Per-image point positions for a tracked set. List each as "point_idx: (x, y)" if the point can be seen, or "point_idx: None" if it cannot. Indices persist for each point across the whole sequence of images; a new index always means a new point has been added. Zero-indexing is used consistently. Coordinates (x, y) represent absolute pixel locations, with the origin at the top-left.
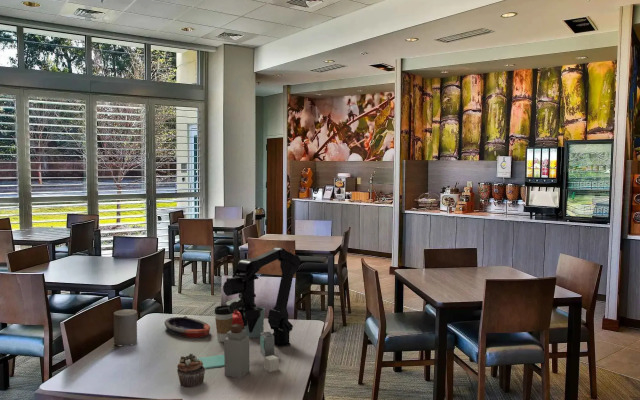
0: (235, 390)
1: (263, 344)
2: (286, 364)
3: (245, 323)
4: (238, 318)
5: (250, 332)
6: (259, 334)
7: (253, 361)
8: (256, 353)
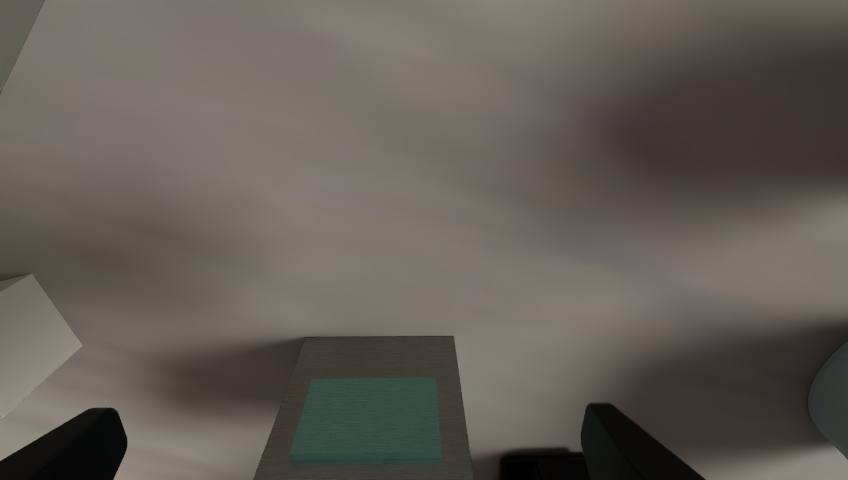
0: None
1: (301, 411)
2: None
3: (607, 474)
4: None
5: (97, 425)
6: (823, 422)
7: (228, 230)
8: (424, 298)
